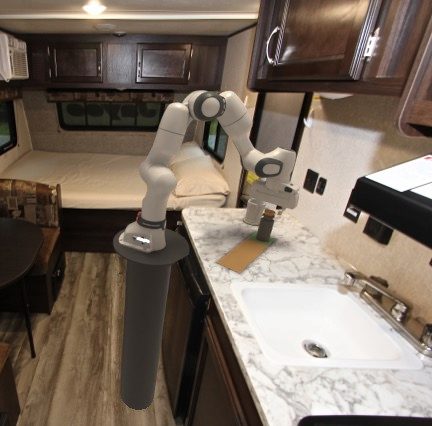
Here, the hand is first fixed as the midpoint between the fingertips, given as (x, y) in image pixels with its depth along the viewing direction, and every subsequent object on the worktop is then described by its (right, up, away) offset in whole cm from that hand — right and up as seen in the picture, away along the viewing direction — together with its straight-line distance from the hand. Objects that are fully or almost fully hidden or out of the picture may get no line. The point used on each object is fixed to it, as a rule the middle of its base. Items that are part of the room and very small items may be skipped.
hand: (268, 211), depth 137 cm
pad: (0, -13, +6) cm, 15 cm away
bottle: (0, -13, +6) cm, 15 cm away
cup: (+4, -6, +23) cm, 24 cm away
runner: (-15, -19, -7) cm, 25 cm away
